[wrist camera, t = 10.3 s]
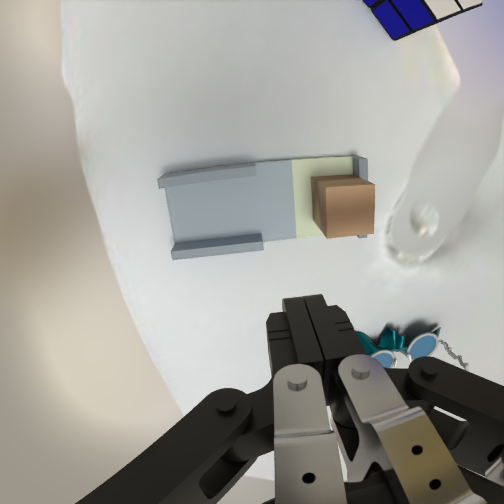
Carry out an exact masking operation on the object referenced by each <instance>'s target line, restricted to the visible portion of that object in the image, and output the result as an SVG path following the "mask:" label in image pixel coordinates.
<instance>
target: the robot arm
mask: <svg viewBox="0 0 504 504" xmlns="http://www.w3.org/2000/svg"><path fill="white" fill-rule="evenodd" d="M282 308H283V312H277V313H270V315H269V317H268V319H267V321H266V328H267V341H268V353H269V360H270V368H271V375H272V378H271V380H270V381H269V383H268V384H267V385H266V386H264V387H263V388H261V389H259V390H257V391H255V392H252V393H249V394H245V393H244V392H242V391H240V390H238V389H234V388H224V389H219V390H216V391H214V392H212V393H210V394H209V395H208V396H206V397H205V398H204V399H203V400H202V401H201V402H200V403H199V404H198V405H197V406H195V407H194V408H193V409H192V410H191V411H190V412H189V413H188V414H187V415H185V416H184V417H183V418H182V419H181V420H180V421H179V422H177V423H176V424H175V425H174V426H173V427H172V428H171V429H169V430H168V431H167V432H166V433H165V434H164V435H163V436H161V437H160V438H159V439H158V440H157V441H155V442H154V443H153V444H152V445H151V446H149V447H148V448H147V449H146V450H145V451H144V452H142V453H141V454H140V455H138V456H137V457H136V458H135V459H134V460H132V461H131V462H130V463H129V464H127V465H126V466H125V467H124V468H122V469H121V470H120V471H119V472H117V473H116V474H115V475H113V476H112V477H111V478H110V479H108V480H107V481H105V482H104V483H103V484H101V485H100V486H99V487H97V488H96V489H95V490H93V491H92V492H91V493H89V494H88V495H86V496H85V497H84V498H82V499H81V500H80V501H78V502H77V503H75V504H216V503H217V502H218V501H219V500H220V499H221V498H222V497H223V496H224V495H225V494H226V493H227V492H228V491H229V490H230V489H231V488H232V487H233V486H234V485H235V483H236V482H237V481H238V480H239V479H240V477H242V476H243V475H244V473H245V472H246V471H247V470H248V469H249V468H250V467H251V466H252V464H253V463H254V462H255V461H256V459H257V458H258V456H261V455H263V454H266V453H268V452H271V451H273V450H274V461H275V498H273V499H271V500H269V501H266V502H264V503H262V504H504V386H502V385H500V384H497V383H495V382H492V381H490V380H487V379H485V378H483V377H480V376H478V375H475V374H473V373H470V372H468V371H466V370H463V369H461V368H458V367H456V366H454V365H451V364H449V363H447V362H444V361H442V360H439V359H437V358H434V357H430V356H423V357H419V358H416V359H415V360H413V361H412V362H411V363H410V365H409V368H408V369H398V368H386V367H383V366H382V365H381V363H380V362H379V361H378V360H377V359H375V358H373V357H371V356H368V355H367V353H366V351H365V349H364V347H363V345H362V343H361V341H360V339H359V337H358V335H357V333H356V331H355V330H354V327H353V325H352V324H351V322H350V320H349V318H348V316H347V314H346V312H345V311H344V310H342V309H341V308H340V307H338V306H337V305H333V306H327V304H326V302H325V300H324V297H323V295H322V294H318V295H310V296H303V297H294V298H285V299H282ZM326 406H330V409H331V412H332V414H331V420H330V422H331V426H332V429H333V431H331V429H330V425H329V419H328V413H327V408H326ZM435 406H437V407H439V408H441V409H443V410H445V411H447V412H450V413H452V414H454V415H456V416H459V417H461V418H463V419H465V420H467V421H460V420H457V419H455V418H453V417H451V416H448V415H446V414H444V413H442V412H440V411H437V410H435V409H434V407H435ZM337 442H338V444H337ZM338 445H339V448H340V450H341V453H342V456H343V458H344V461H345V464H346V467H347V479H348V482H344V480H343V474H342V468H341V462H340V456H339V450H338ZM457 464H458V465H457ZM459 465H460V466H459ZM461 466H462V467H461ZM463 467H464V468H463ZM465 468H467V469H469V470H472V471H474V472H476V473H479V474H481V475H483V476H485V477H486V478H484V477H482V476H480V475H478V474H476V473H474V472H472V471H469V470H467V469H465Z"/></svg>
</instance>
